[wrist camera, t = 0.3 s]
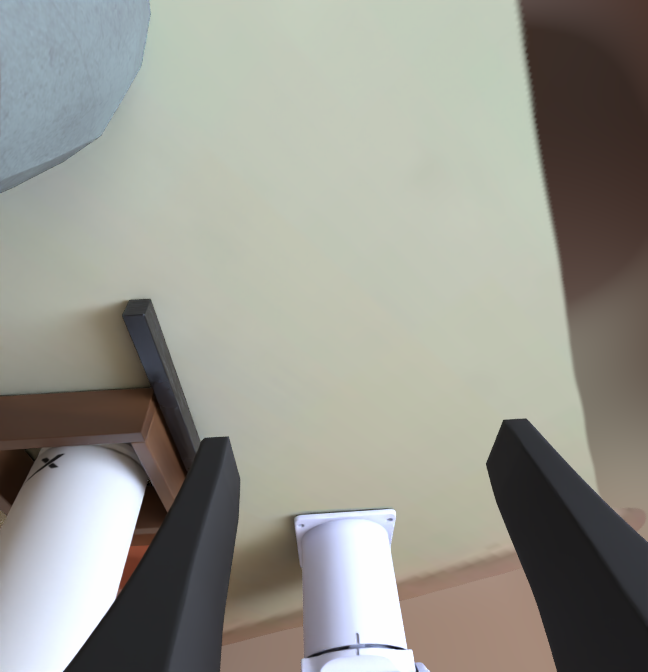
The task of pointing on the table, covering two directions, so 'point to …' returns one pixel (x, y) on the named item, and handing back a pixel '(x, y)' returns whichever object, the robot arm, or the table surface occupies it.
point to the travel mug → (65, 551)
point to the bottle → (62, 77)
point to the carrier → (90, 429)
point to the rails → (162, 376)
